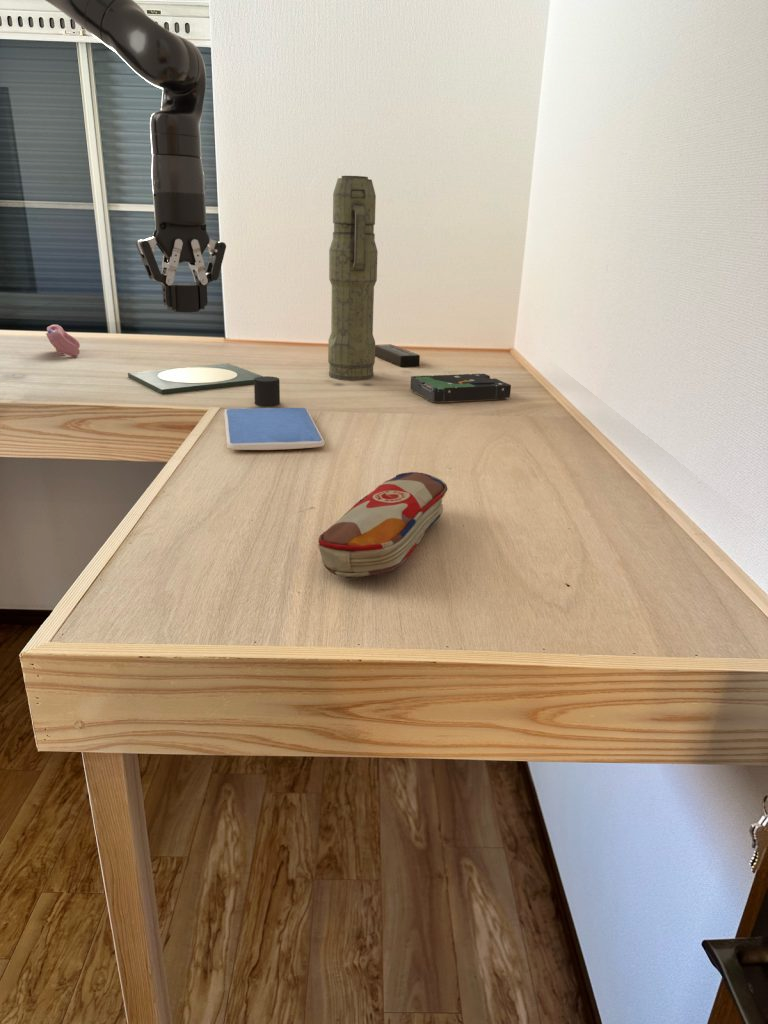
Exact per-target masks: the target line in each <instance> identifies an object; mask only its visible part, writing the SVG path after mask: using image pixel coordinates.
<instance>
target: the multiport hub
mask: <svg viewBox="0 0 768 1024" xmlns="http://www.w3.org/2000/svg"><path fill="white" fill-rule="evenodd" d="M376 357H377V359H378V358H379V359H381V360H382V361H385V362H388V363H390V364H393V365H395V366H397V367H399V368H408V367H409V368H411V367H412V368H415V367H420V361H421V360H420V358H421V355H420V354H418V353H415V352H413V351H409V350H407V349H404V348H402V347H400V346H397V345H394V344H390V343H389V344H388V343H387V344H386V343H385V344H375V358H376Z"/></svg>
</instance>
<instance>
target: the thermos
mask: <svg viewBox="0 0 768 1024" xmlns="http://www.w3.org/2000/svg"><path fill="white" fill-rule="evenodd" d="M374 187H375V186H374V184H373V180H372V179H370V178H369V177H368V176H363V175H341V177H338V178H337V180H336V182H335V186H334V189H333V193H332V224H333V232H332V240H331V243H330V246H329V251H328V253H329V254H328V255H329V256H328V258H329V259H328V271H329V272H328V280H329V282H330V285H331V316H330V317H331V318H330V319H331V324H330V325H331V326H330V328H331V331H330V335H329V338H328V343H327V344H328V345H327V346H328V349H327V350H328V351H327V352H328V354H327V361H328V364H329V371H328V376H329V377H330V378H333V379H337V380H343V381H364V380H370V379H373V378H374V375H375V373H374V366H375V363H376V356H375V345H376V341H375V337H374V335H373V333H374V300H375V297H374V296H375V285H376V283H377V280H378V255H379V254H378V248H377V245H376V240H375V237H376V235H375V234H376V233H375V225H376V203H377V201H376V199H377V197H376V196H377V195H376V191H375V188H374Z"/></svg>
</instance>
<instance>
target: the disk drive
mask: <svg viewBox="0 0 768 1024" xmlns="http://www.w3.org/2000/svg"><path fill="white" fill-rule="evenodd" d="M409 389H410V390H411V391H412V392H413V393H414V394H417V395H419V396H420V397H422V398H424V399H425V400H428V401H429V402H432V403H459V402H483V401H497V400H498V401H499V400H506V399H510V398H511V391H512V385H511V384H510V383H507V382H505V381H502V380H500V379H498V378H495V377H494V378H491V376H490V375H488V374H486V373H471V374H470V373H463V374H438V375H437V374H436V375H435V374H433V375H414V376H410V387H409Z"/></svg>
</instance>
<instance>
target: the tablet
mask: <svg viewBox="0 0 768 1024" xmlns="http://www.w3.org/2000/svg"><path fill="white" fill-rule="evenodd" d="M223 416H224V417H223V418H224V427H225V439H226V447H227V448H228V449H229V450H233V451H235V450H236V451H274V450H275V451H277V450H298V449H313V448H320V447H323V446H325V445H326V442H325V439H324V438H323V436H322V434H321V432H320V430H319V428H318V426H317V424H316V423H315V421H314V418H313V416H312V414H311V413H310V411H309V409H308V408H307V407H255V408H254V407H253V408H252V407H250V408H249V407H248V408H226V409H225V410H224V411H223Z"/></svg>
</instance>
